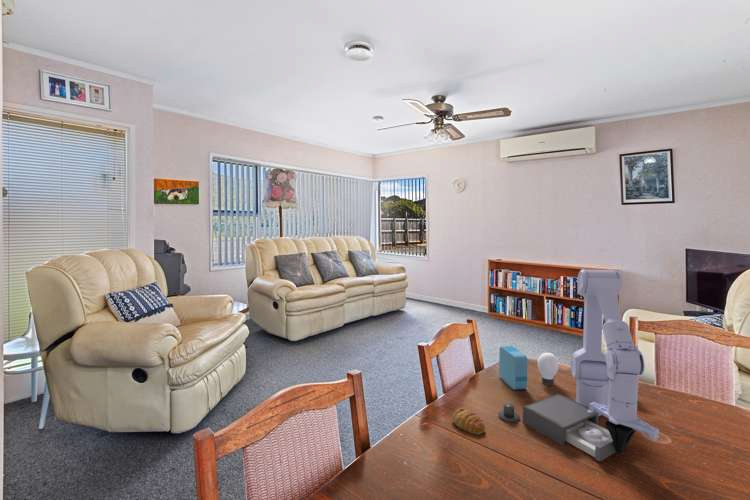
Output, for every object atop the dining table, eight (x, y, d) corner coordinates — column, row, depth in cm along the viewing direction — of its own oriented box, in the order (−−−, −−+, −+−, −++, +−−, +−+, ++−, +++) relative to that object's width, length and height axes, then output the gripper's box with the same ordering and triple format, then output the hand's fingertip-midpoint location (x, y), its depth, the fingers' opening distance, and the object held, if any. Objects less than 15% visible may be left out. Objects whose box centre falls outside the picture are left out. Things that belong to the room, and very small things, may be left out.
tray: (628, 445, 91) (628, 432, 91) (599, 461, 85) (599, 448, 85) (585, 423, 101) (585, 412, 101) (556, 437, 95) (556, 424, 95)
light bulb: (560, 382, 128) (561, 352, 127) (554, 389, 123) (555, 358, 122) (540, 377, 133) (541, 348, 132) (534, 383, 127) (535, 353, 127)
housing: (598, 428, 99) (598, 410, 99) (562, 445, 92) (562, 426, 92) (557, 408, 110) (558, 392, 110) (522, 422, 103) (523, 405, 102)
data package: (527, 390, 122) (528, 356, 121) (514, 391, 122) (515, 357, 121) (510, 375, 134) (510, 344, 133) (498, 376, 134) (499, 345, 133)
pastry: (491, 431, 99) (491, 418, 99) (474, 439, 95) (474, 425, 95) (465, 416, 107) (465, 403, 107) (449, 423, 103) (449, 410, 103)
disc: (584, 429, 97) (584, 423, 97) (606, 438, 93) (606, 432, 93) (574, 436, 94) (574, 430, 94) (596, 446, 90) (597, 440, 90)
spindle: (507, 409, 110) (508, 398, 109) (524, 419, 104) (524, 407, 104) (493, 414, 107) (493, 403, 107) (509, 424, 102) (510, 412, 101)
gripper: (582, 389, 91) (581, 441, 92) (648, 416, 78) (645, 475, 79) (599, 383, 94) (597, 433, 95) (664, 408, 81) (661, 465, 82)
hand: (620, 451), depth 87 cm, fingers closed
